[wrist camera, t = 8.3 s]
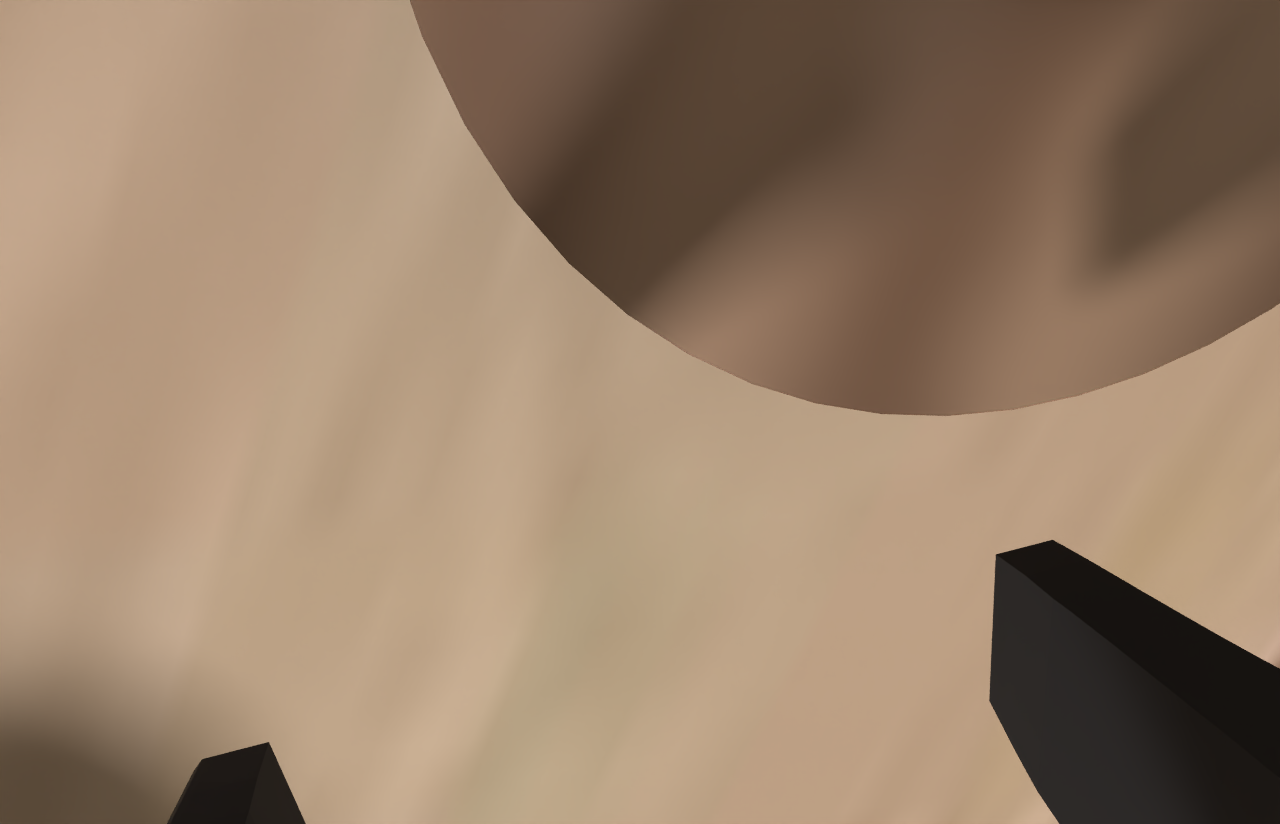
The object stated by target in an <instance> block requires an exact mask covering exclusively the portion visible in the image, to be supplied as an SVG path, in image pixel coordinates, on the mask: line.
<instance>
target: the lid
mask: <svg viewBox="0 0 1280 824" xmlns="http://www.w3.org/2000/svg"><path fill="white" fill-rule="evenodd" d="M410 2H411V5H412V8H413V11H414V14H415V17H416V20H417V22H418V25H419V28H420V31H421V34H422V37H423V39H424V41H425V43H426V45H427V47H428V49H429V51H430V53H431V56H432V58H433V60H434V62H435V64H436V66H437V68H438V70H439V72H440V74H441V76H442V78H443V80H444V82H445V84H446V87H447V89H448V91H449V93H450V95H451V97H452V99H453V101H454V103H455V105H456V107H457V109H458V111H459V113H460V116H461V118H462V120H463V122H464V124H465V126H466V127H467V129H468V130H469V132H470V133H471V135H472V136H473V138H474V139H475V141H476V142H477V144H478V145H479V147H480V148H481V150H482V152H483V153H484V155H485V156H486V158H487V159H488V161H489V162H490V164H491V165H492V167H493V168H494V170H495V171H496V173H497V174H498V176H499V177H500V179H501V181H502V182H503V184H504V185H505V187H506V188H507V190H508V191H509V193H510V194H511V196H512V197H513V199H514V200H515V201H516V203H517V204H518V205H519V206H520V207H521V208H522V210H523V211H524V212H525V213H526V214H527V215H528V217H529V218H530V219H531V220H532V221H533V222H534V223H535V225H536V226H537V227H538V228H539V229H540V230H541V232H542V233H543V234H544V235H545V236H546V237H547V238H548V240H549V241H550V242H551V243H552V244H553V245H554V247H555V248H556V249H557V250H558V251H559V252H560V253H561V255H562V256H563V257H564V258H565V259H566V260H567V262H568V263H569V264H570V265H572V266H573V267H574V268H575V269H576V270H577V271H578V272H580V273H581V274H582V275H583V276H584V277H585V278H586V279H588V280H589V281H590V282H591V283H592V284H593V285H594V286H596V287H597V288H598V289H599V290H600V291H601V292H602V293H604V294H605V295H606V296H607V297H608V298H609V299H610V300H612V301H613V302H614V303H615V304H616V305H617V306H618V307H620V308H621V309H622V310H623V311H624V312H625V313H626V314H628V315H629V316H631V317H632V318H634V319H635V320H637V321H638V322H640V323H642V324H643V325H645V326H646V327H648V328H649V329H651V330H652V331H654V332H655V333H657V334H658V335H660V336H661V337H663V338H664V339H666V340H668V341H669V342H671V343H672V344H674V345H675V346H677V347H678V348H680V349H681V350H683V351H684V352H686V353H687V354H689V355H691V356H694V357H696V358H698V359H700V360H702V361H704V362H706V363H709V364H711V365H713V366H715V367H717V368H719V369H721V370H724V371H726V372H728V373H730V374H732V375H734V376H736V377H739V378H741V379H743V380H745V381H747V382H749V383H751V384H755V385H758V386H761V387H765V388H768V389H771V390H774V391H778V392H781V393H784V394H787V395H791V396H794V397H797V398H800V399H804V400H807V401H810V402H813V403H818V404H824V405H830V406H836V407H842V408H848V409H854V410H861V411H867V412H873V413H879V414H903V415H935V416H951V415H961V414H972V413H983V412H993V411H1004V410H1014V409H1018V408H1023V407H1028V406H1032V405H1037V404H1042V403H1046V402H1051V401H1056V400H1060V399H1065V398H1070V397H1074V396H1079V395H1082V394H1085V393H1088V392H1091V391H1094V390H1097V389H1100V388H1103V387H1106V386H1109V385H1112V384H1115V383H1118V382H1121V381H1124V380H1127V379H1130V378H1133V377H1136V376H1139V375H1142V374H1145V373H1147V372H1149V371H1152V370H1154V369H1156V368H1158V367H1160V366H1163V365H1165V364H1167V363H1169V362H1172V361H1174V360H1176V359H1178V358H1180V357H1183V356H1185V355H1187V354H1189V353H1191V352H1194V351H1196V350H1198V349H1200V348H1203V347H1205V346H1207V345H1209V344H1211V343H1213V342H1214V341H1216V340H1218V339H1220V338H1221V337H1223V336H1225V335H1227V334H1228V333H1230V332H1232V331H1234V330H1235V329H1237V328H1239V327H1241V326H1242V325H1244V324H1246V323H1248V322H1249V321H1251V320H1253V319H1255V318H1256V317H1258V316H1260V315H1262V314H1263V313H1265V312H1267V311H1269V310H1270V309H1272V308H1274V307H1275V306H1276V305H1278V304H1279V303H1280V0H410Z"/></svg>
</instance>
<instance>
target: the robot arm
mask: <svg viewBox="0 0 1280 824" xmlns="http://www.w3.org/2000/svg"><path fill="white" fill-rule="evenodd" d="M989 701H990V703H991V705H992V707H993V709H994V710H995V712H996V714H997V716H998V718H999V720H1000V722H1001V724H1002V726H1003V728H1004V730H1005V732H1006V734H1007V736H1008V738H1009V740H1010V742H1011V744H1012V746H1013V747H1014V749H1015V751H1016V753H1017V755H1018V757H1019V759H1020V760H1021V762H1022V764H1023V766H1024V768H1025V770H1026V771H1027V773H1028V775H1029V777H1030V779H1031V780H1032V782H1033V784H1034V786H1035V788H1036V790H1037V791H1038V793H1039V794H1040V796H1041V797H1042V799H1043V800H1044V802H1045V803H1046V805H1047V806H1048V808H1049V809H1050V811H1051V812H1052V814H1053V815H1054V816H1055V818H1056V819H1057V821H1058V822H1059V824H1280V669H1279V668H1277V667H1275V666H1274V665H1272V664H1270V663H1268V662H1266V661H1264V660H1262V659H1261V658H1259V657H1257V656H1255V655H1253V654H1251V653H1250V652H1248V651H1246V650H1244V649H1242V648H1241V647H1239V646H1237V645H1235V644H1233V643H1232V642H1230V641H1228V640H1226V639H1224V638H1223V637H1221V636H1219V635H1217V634H1215V633H1214V632H1212V631H1210V630H1208V629H1207V628H1205V627H1203V626H1201V625H1200V624H1198V623H1196V622H1194V621H1193V620H1191V619H1189V618H1187V617H1186V616H1184V615H1182V614H1180V613H1179V612H1177V611H1175V610H1173V609H1172V608H1170V607H1168V606H1167V605H1165V604H1163V603H1161V602H1160V601H1158V600H1156V599H1155V598H1153V597H1151V596H1149V595H1148V594H1146V593H1144V592H1142V591H1141V590H1139V589H1137V588H1136V587H1134V586H1132V585H1131V584H1129V583H1127V582H1125V581H1124V580H1122V579H1120V578H1119V577H1117V576H1115V575H1113V574H1112V573H1110V572H1108V571H1107V570H1105V569H1103V568H1101V567H1100V566H1098V565H1096V564H1095V563H1093V562H1091V561H1089V560H1088V559H1086V558H1084V557H1082V556H1081V555H1079V554H1077V553H1075V552H1074V551H1072V550H1070V549H1068V548H1066V547H1065V546H1063V545H1061V544H1059V543H1057V542H1055V541H1054V540H1050V541H1046V542H1043V543H1039V544H1035V545H1031V546H1027V547H1023V548H1019V549H1015V550H1012V551H1008V552H1004V553H1000V554H996V564H995V586H994V609H993V631H992V654H991V676H990V699H989ZM167 824H306V823H305V821H304V819H303V817H302V815H301V812H300V810H299V808H298V806H297V803H296V801H295V799H294V797H293V795H292V792H291V790H290V788H289V786H288V784H287V781H286V779H285V777H284V775H283V772H282V770H281V768H280V766H279V764H278V761H277V759H276V757H275V755H274V753H273V750H272V748H271V746H270V744H269V742H267V743H263V744H260V745H256V746H252V747H248V748H244V749H240V750H236V751H232V752H229V753H225V754H221V755H217V756H213V757H209V758H205V759H202V760H201V762H200V763H199V765H198V766H197V767H196V769H195V770H194V772H193V774H192V776H191V778H190V780H189V782H188V783H187V785H186V787H185V789H184V791H183V793H182V795H181V797H180V799H179V801H178V803H177V805H176V807H175V809H174V811H173V813H172V815H171V817H170V819H169V821H168V823H167Z"/></svg>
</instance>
